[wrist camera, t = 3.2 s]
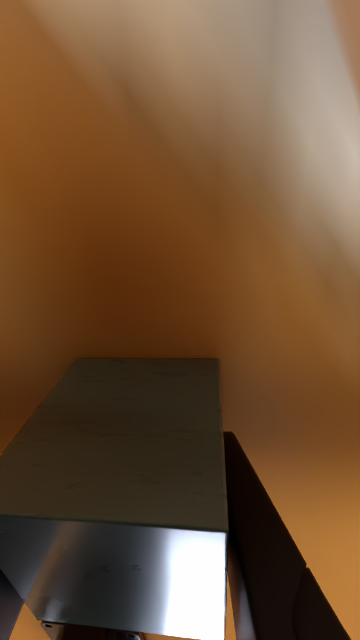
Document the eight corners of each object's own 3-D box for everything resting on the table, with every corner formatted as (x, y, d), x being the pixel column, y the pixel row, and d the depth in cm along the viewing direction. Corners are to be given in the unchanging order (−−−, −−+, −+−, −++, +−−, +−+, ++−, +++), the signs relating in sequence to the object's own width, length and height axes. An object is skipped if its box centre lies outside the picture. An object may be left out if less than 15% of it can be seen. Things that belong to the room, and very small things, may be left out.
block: (218, 459, 10) (225, 643, 6) (101, 454, 10) (36, 620, 6) (218, 358, 8) (229, 531, 4) (74, 357, 8) (-45, 511, 4)
